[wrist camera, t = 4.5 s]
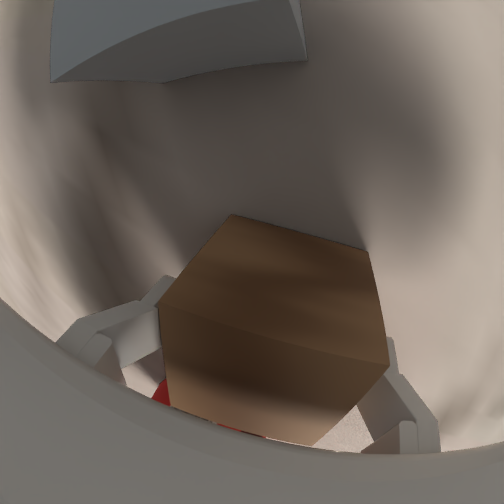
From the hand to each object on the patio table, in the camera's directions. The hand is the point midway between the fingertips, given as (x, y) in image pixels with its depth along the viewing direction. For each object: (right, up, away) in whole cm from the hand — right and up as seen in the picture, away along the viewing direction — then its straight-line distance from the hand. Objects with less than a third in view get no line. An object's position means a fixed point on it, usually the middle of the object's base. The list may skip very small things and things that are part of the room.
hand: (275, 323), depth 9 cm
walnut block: (0, +1, +2) cm, 2 cm away
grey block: (-2, +10, -3) cm, 11 cm away
